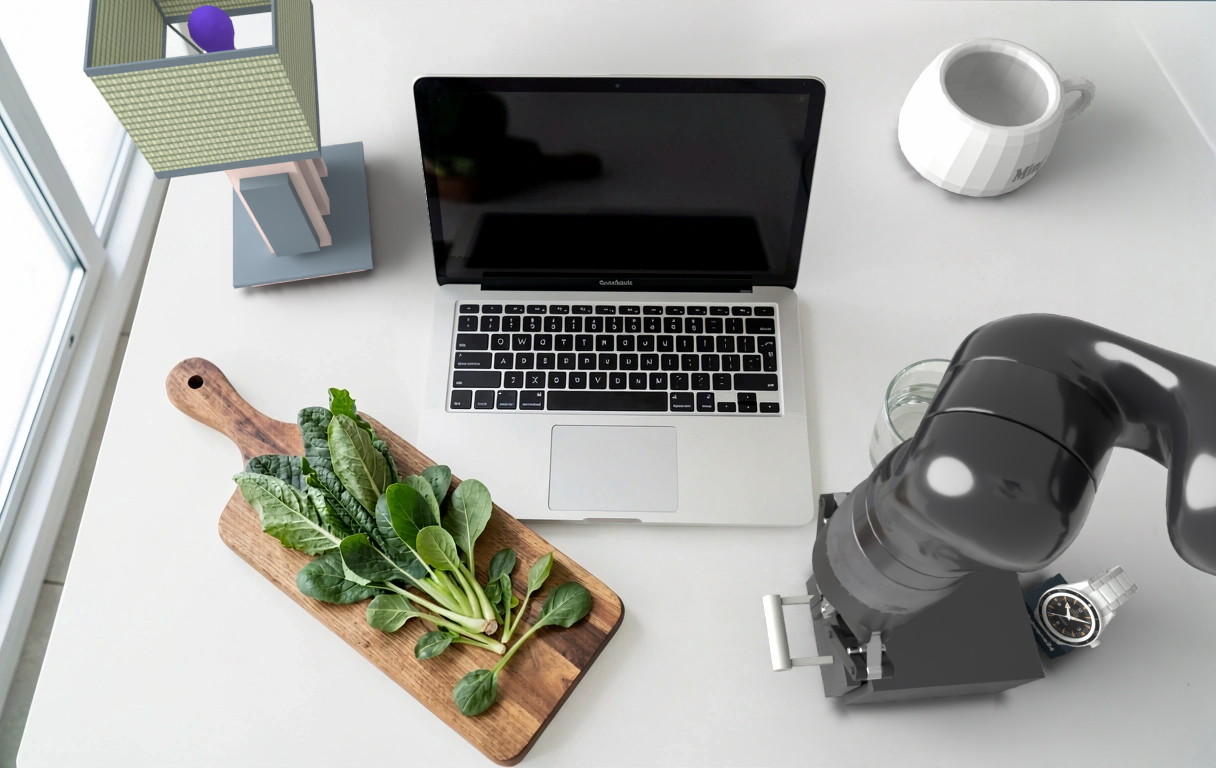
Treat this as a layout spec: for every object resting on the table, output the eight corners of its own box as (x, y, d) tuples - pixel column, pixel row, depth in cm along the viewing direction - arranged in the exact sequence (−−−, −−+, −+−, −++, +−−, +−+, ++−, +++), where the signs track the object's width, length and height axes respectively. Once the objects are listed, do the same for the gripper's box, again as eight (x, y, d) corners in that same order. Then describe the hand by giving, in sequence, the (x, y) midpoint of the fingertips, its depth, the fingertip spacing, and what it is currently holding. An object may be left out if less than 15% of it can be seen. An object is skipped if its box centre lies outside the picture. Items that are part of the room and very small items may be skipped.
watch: (991, 616, 81) (1046, 588, 71) (1058, 571, 83) (1120, 538, 73) (1034, 672, 79) (1096, 651, 69) (1101, 625, 81) (1172, 598, 71)
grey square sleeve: (843, 704, 77) (872, 691, 69) (820, 576, 82) (845, 550, 74) (998, 692, 78) (1045, 677, 70) (967, 565, 83) (1007, 538, 75)
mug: (921, 217, 100) (954, 157, 91) (872, 103, 107) (897, 37, 98) (1100, 186, 102) (1149, 124, 93) (1040, 76, 109) (1080, 10, 100)
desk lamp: (378, 285, 95) (279, 46, 66) (241, 305, 94) (78, 70, 65) (366, 150, 103) (273, -117, 74) (240, 167, 102) (95, -98, 72)
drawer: (767, 702, 77) (783, 691, 70) (751, 586, 81) (764, 565, 74) (969, 686, 77) (1003, 674, 71) (942, 572, 82) (972, 550, 75)
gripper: (986, 661, 49) (892, 698, 65) (931, 436, 55) (856, 520, 70) (850, 671, 49) (788, 706, 64) (808, 444, 54) (761, 527, 70)
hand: (824, 609), depth 67 cm, fingers closed
